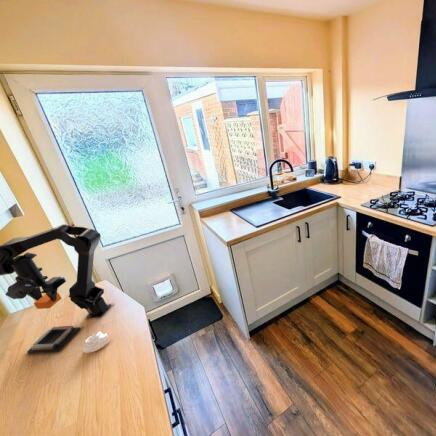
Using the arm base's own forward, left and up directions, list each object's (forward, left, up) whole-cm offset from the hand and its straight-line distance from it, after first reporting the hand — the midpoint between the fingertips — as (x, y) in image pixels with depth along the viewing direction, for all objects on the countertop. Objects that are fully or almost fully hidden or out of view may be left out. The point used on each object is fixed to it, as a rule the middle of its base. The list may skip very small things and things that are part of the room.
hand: (48, 301), depth 100 cm
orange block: (0, 0, -1) cm, 1 cm away
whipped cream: (-27, +14, -10) cm, 32 cm away
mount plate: (-8, +11, -10) cm, 17 cm away
